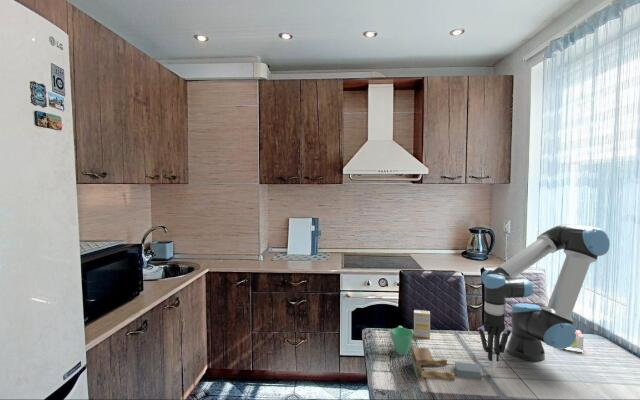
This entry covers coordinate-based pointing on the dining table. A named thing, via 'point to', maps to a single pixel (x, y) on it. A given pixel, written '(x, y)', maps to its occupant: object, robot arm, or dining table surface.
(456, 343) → the dining table surface
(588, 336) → the dining table surface
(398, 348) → the green pitcher
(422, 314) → the supplement box
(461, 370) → the tile
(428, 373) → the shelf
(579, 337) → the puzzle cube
